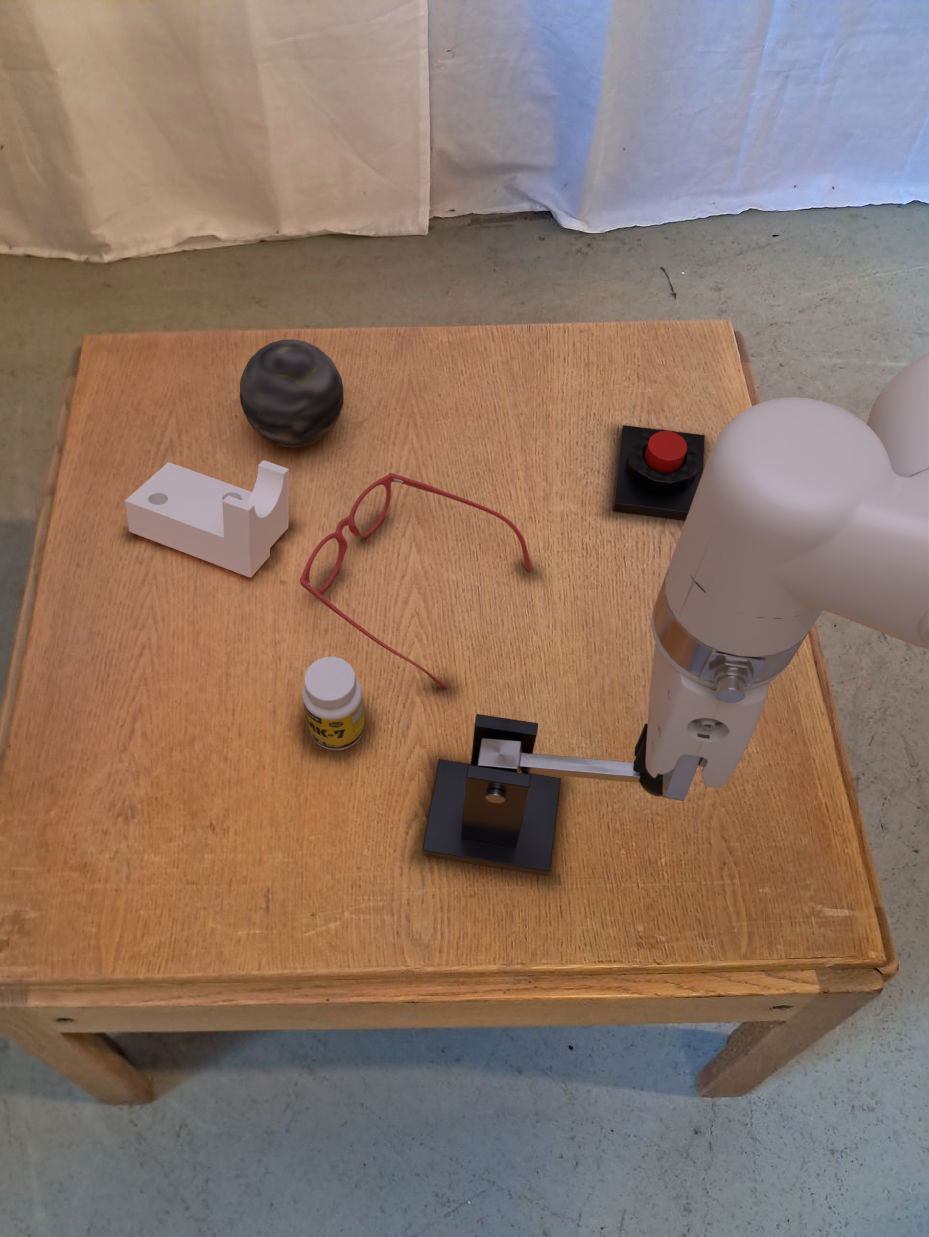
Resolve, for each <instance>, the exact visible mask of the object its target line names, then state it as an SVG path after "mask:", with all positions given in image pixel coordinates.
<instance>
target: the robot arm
mask: <svg viewBox="0 0 929 1237" xmlns="http://www.w3.org/2000/svg"><path fill="white" fill-rule="evenodd" d="M866 422H867V423H866ZM866 422H865V421H863V420H862V419H861V418H859V417H858V416H857V415H855V414H854V413H852V412H850V411H849V410H847V409H844V408H842V407H840V406H838V405H836V404H832V403H830V402H827V401H824V400H819V399H815V398H809V397H799V396H797V397H796V396H793V397H792V396H791V397H779V398H774V399H773V398H772V399H769V400H766V401H763V402H759V403H756V404H754V405H752V406H749V407H748V408H747V409H745V410H743V411H742V412H741V413H739V414H738V415H736V416H735V417H733V419H731V420H730V421H729V423H728V424H727V425H726V426H725V427H724V428H723V429H722V431H721V432H720V433H719V435H718V436H717V437H716V439H715V442H714V444H713V446H712V448H711V451H710V452H709V455H708V457H707V461H706V463H705V466H704V467H703V474H702V477H701V479H700V482H699V485H698V488H697V490H696V493H695V496H694V499H693V501H692V504H691V507H690V510H689V513H688V515H687V518H686V520H684V524H683V526H682V530H681V532H680V535H679V538H678V541H677V542H676V544H675V545H676V546H675V548H674V551H673V553H672V556H671V559H670V561H669V564H668V567H667V570H666V573H665V576H664V578H663V581H662V584H661V586H660V589H659V592H658V595H657V596H656V597H657V598H656V600H655V602H654V605H653V608H652V612H651V624H650V625H651V631H652V632H651V633H652V636H653V640H654V642H655V643H654V649H653V655H652V656H653V657H652V664H651V665H652V666H651V676H650V686H649V696H648V697H649V698H648V710H647V711H648V714H647V723H644V725H643V728H642V730H641V732H640V735H639V737H638V739H637V742H636V744H635V747H634V752H633V753H634V754H633V755H634V760H633V762H634V765H633V770H634V771H636V772H640V773H646V774H647V775H648V777H650V778H652V779H657V780H663V797H662V799H666V800H671V801H672V800H673V801H679V802H685V800H686V797H687V795H688V792H689V790H690V788H691V785H692V782H693V780H694V777H695V774H696V772H697V770H698V767H702V768H701V771H700V775H701V778H702V780H703V783H704V786H705V787H706V788H710V789H711V788H713V789H721V788H723V787H724V786H726V785H727V784H728V783H729V781H730V780H731V778H732V776H733V774H734V773H735V772H736V769H737V767H738V765H739V764H740V762H741V760H742V758H743V756H744V755H745V752H746V750H747V748H748V746H749V744H750V742H751V740H752V738H753V735H754V734H755V731H756V728H757V726H758V723H759V722H760V719H761V715H762V713H763V709H764V707H765V703H766V700H767V697H768V693H769V689H770V688H769V687H770V683H771V682H773V681H774V680H775V679H777V678H778V677H779V676H780V675H781V674H783V673H784V671H785V670H786V669H787V668H788V666H789V665H790V663H791V662H792V660H793V658H794V657H795V655H796V654H797V652H798V651H799V649H800V647H801V646H802V644H803V643H804V641H805V639H806V638H807V636H808V635H809V633H810V632H811V630H812V628H813V626H814V625H815V623H816V622H817V621H818V619H819V617H820V616H821V615H822V612H823V611H824V612H827V613H830V614H833V615H835V616H839V617H841V618H843V619H846V620H849V621H851V622H854V623H856V624H858V625H861V626H864V627H866V628H869V629H871V630H874V631H876V632H879V633H880V634H881V633H882V634H884V635H887V636H889V637H892V638H894V639H897V640H898V641H902V642H905V643H906V644H910V645H912V646H916V647H918V648H922V649H925V650H929V351H927V352H926V353H924V354H923V355H920V356H919V357H917V359H915V360H913V361H912V362H910V363H909V364H908V365H906V366H905V367H903V368H902V369H901V370H899V371H898V372H897V373H896V374H895V375H894V376H893V377H892V378H891V379H890V380H889V381H888V382H887V383H886V384H885V386H884V387H883V388H882V389H881V391H880V392H879V394H878V395H877V397H876V399H875V401H874V402H873V404H872V406H871V409H870V411H869V415H868V419H867V421H866Z"/></svg>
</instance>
